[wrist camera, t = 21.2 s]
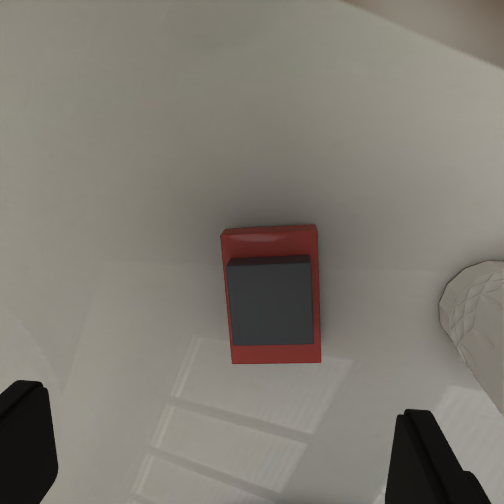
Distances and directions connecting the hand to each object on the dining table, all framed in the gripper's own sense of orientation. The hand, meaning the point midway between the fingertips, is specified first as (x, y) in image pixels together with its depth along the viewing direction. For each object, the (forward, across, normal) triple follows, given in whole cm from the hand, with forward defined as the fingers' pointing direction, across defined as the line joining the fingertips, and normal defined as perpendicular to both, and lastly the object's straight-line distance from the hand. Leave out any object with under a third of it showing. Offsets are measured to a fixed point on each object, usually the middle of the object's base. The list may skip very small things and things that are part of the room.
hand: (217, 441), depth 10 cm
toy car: (+15, +2, +2) cm, 16 cm away
